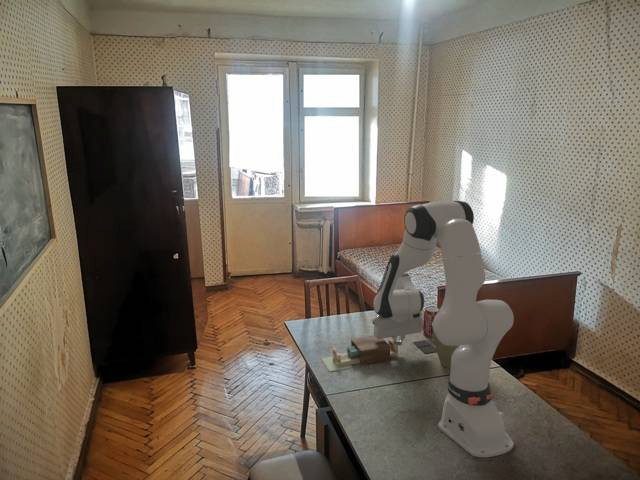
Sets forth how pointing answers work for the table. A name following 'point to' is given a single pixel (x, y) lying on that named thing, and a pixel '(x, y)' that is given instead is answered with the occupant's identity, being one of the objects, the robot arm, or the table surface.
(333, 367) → the pad
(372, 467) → the table surface
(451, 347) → the plant pot
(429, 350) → the pit pad
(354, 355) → the board
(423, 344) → the plate
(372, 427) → the table surface
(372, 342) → the tunnel
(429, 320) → the soda can
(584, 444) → the table surface
